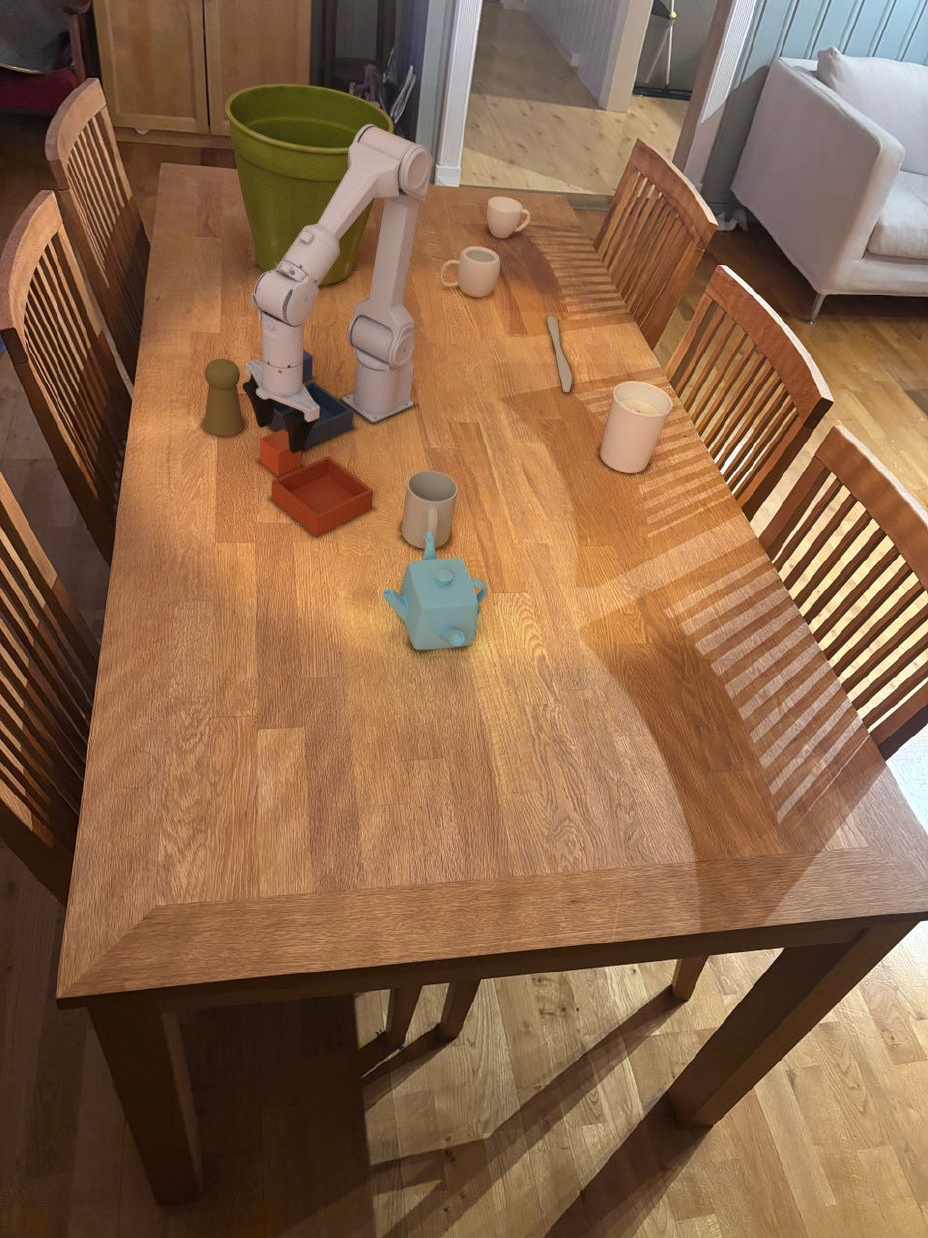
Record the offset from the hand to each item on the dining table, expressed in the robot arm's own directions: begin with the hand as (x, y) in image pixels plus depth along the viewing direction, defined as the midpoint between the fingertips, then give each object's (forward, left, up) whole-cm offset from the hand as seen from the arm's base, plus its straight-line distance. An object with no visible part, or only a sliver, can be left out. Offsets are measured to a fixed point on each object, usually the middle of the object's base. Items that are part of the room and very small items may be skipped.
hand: (280, 437), depth 145 cm
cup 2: (-93, -38, -5) cm, 101 cm away
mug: (-66, -24, -5) cm, 70 cm away
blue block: (-17, -18, -5) cm, 25 cm away
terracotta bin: (+1, +11, -5) cm, 12 cm away
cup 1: (-6, +26, -5) cm, 27 cm away
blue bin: (-10, -6, -5) cm, 13 cm away
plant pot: (-44, -48, -5) cm, 65 cm away
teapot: (+6, +39, -5) cm, 40 cm away
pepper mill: (+1, -13, -5) cm, 14 cm away
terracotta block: (0, 0, -5) cm, 5 cm away
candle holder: (-48, +31, -5) cm, 57 cm away
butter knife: (-64, +3, -5) cm, 65 cm away
